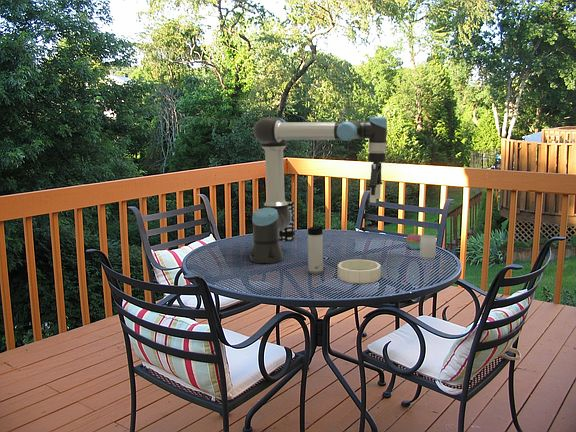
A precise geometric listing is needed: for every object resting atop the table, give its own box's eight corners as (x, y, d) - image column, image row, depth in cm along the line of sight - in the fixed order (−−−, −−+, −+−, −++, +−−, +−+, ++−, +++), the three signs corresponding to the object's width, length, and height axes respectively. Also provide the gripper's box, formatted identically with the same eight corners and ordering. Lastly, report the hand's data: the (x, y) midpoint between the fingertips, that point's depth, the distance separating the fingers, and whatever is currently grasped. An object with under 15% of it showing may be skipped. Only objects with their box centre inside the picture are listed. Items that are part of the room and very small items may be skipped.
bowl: (333, 281, 217) (333, 269, 216) (344, 269, 233) (344, 258, 232) (375, 285, 211) (375, 272, 210) (383, 272, 227) (383, 261, 226)
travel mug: (319, 275, 226) (318, 228, 222) (305, 272, 229) (304, 226, 225) (326, 271, 231) (326, 225, 227) (312, 269, 234) (312, 224, 231)
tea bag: (434, 258, 247) (435, 236, 245) (419, 257, 250) (420, 236, 248) (435, 256, 251) (436, 235, 249) (420, 255, 253) (421, 234, 251)
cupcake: (423, 250, 261) (424, 226, 259) (405, 250, 263) (406, 225, 260) (422, 246, 269) (423, 222, 267) (405, 245, 271) (405, 222, 268)
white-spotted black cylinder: (297, 238, 291) (296, 201, 288) (290, 242, 284) (290, 204, 280) (283, 237, 295) (282, 201, 291) (276, 240, 287) (275, 203, 284)
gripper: (382, 153, 224) (379, 204, 227) (388, 151, 247) (386, 197, 251) (364, 153, 226) (362, 203, 229) (372, 151, 250) (370, 196, 253)
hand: (375, 200), depth 240 cm, fingers open, 13 cm apart
